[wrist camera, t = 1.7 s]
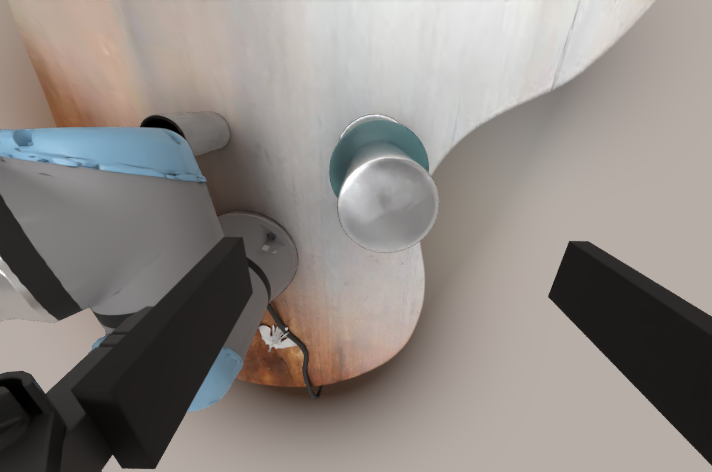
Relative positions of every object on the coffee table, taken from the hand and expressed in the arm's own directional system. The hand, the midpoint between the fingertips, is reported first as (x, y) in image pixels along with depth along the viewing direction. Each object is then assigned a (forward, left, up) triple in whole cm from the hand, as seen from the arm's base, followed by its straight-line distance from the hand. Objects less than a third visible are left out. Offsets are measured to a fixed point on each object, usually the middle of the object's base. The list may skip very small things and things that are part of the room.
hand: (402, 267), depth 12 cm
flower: (-32, +15, -29) cm, 46 cm away
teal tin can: (0, 0, -29) cm, 29 cm away
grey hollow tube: (+2, +21, -29) cm, 36 cm away
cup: (0, 0, -18) cm, 18 cm away
